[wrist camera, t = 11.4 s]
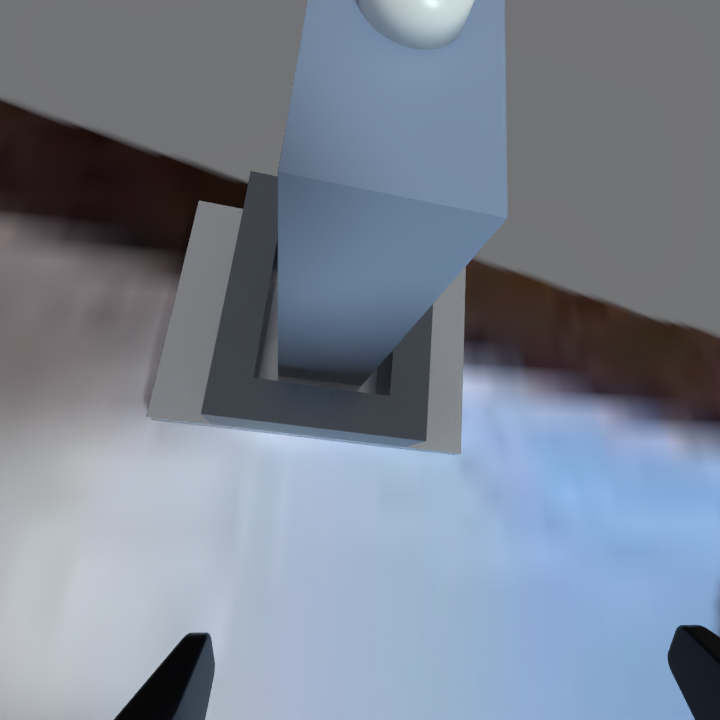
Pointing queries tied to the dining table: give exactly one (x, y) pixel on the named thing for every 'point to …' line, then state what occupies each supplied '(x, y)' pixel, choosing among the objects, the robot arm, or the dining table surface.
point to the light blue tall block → (385, 174)
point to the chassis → (260, 348)
